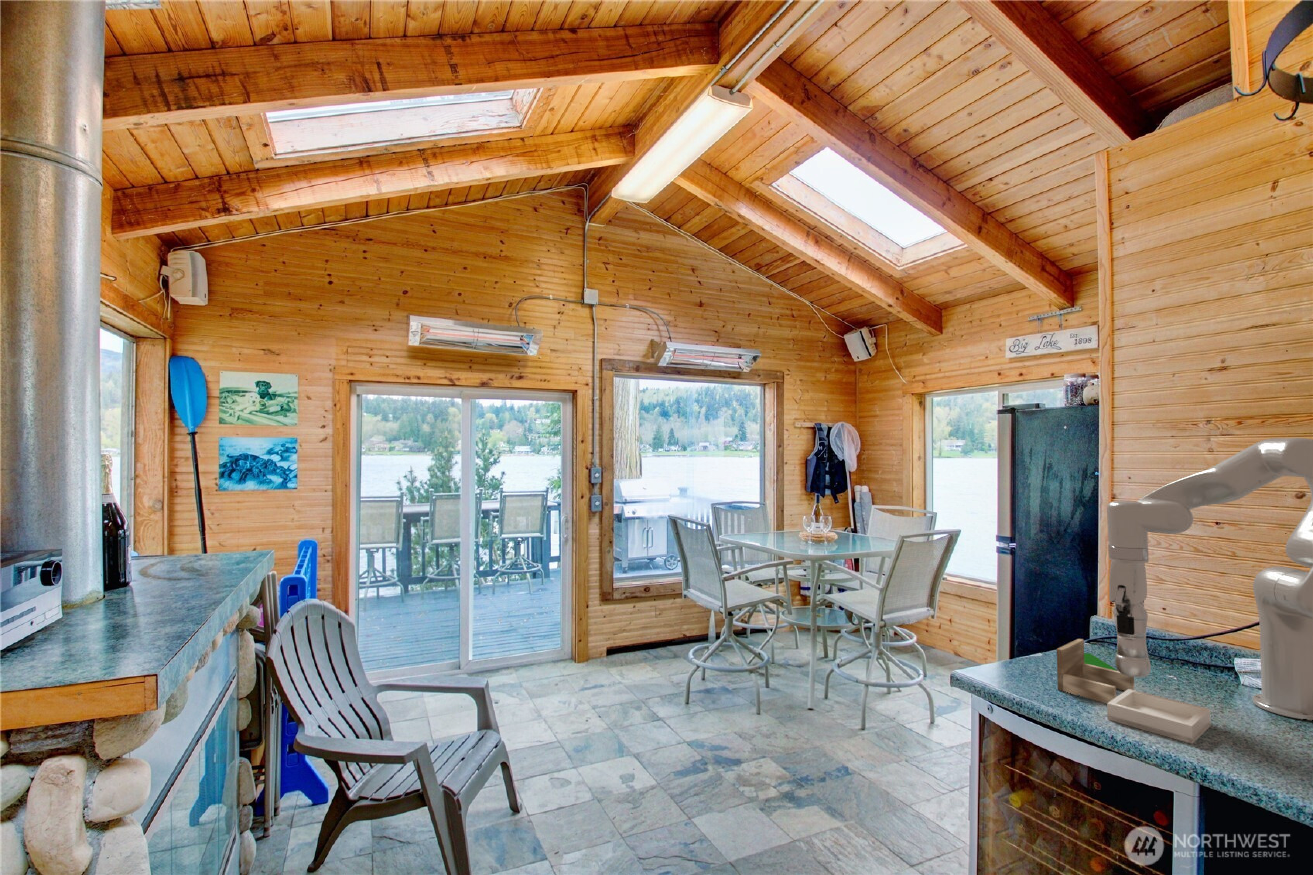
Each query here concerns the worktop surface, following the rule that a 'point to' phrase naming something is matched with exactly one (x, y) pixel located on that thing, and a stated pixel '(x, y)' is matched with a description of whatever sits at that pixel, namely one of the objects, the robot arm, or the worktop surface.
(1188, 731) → the tray
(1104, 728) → the worktop surface
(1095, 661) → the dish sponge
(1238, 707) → the worktop surface
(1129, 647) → the plastic bottle
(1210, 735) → the worktop surface
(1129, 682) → the bay
